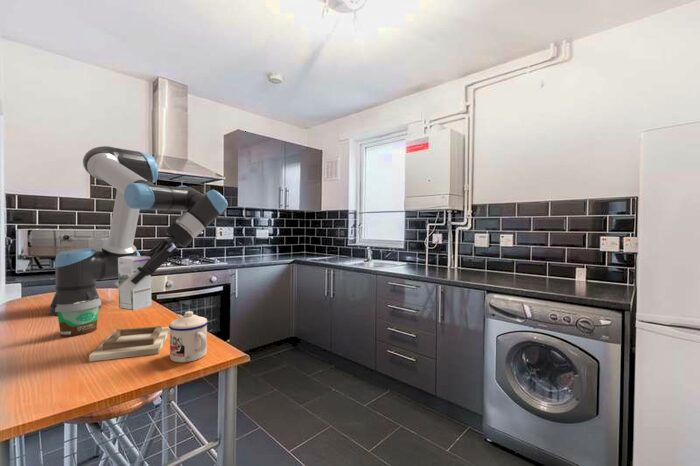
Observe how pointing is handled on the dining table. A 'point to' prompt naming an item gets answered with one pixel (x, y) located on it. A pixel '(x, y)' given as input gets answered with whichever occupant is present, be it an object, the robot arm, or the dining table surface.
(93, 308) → the food container
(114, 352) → the beige square tray
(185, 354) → the teacup with lid
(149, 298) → the syrup box
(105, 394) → the dining table surface
